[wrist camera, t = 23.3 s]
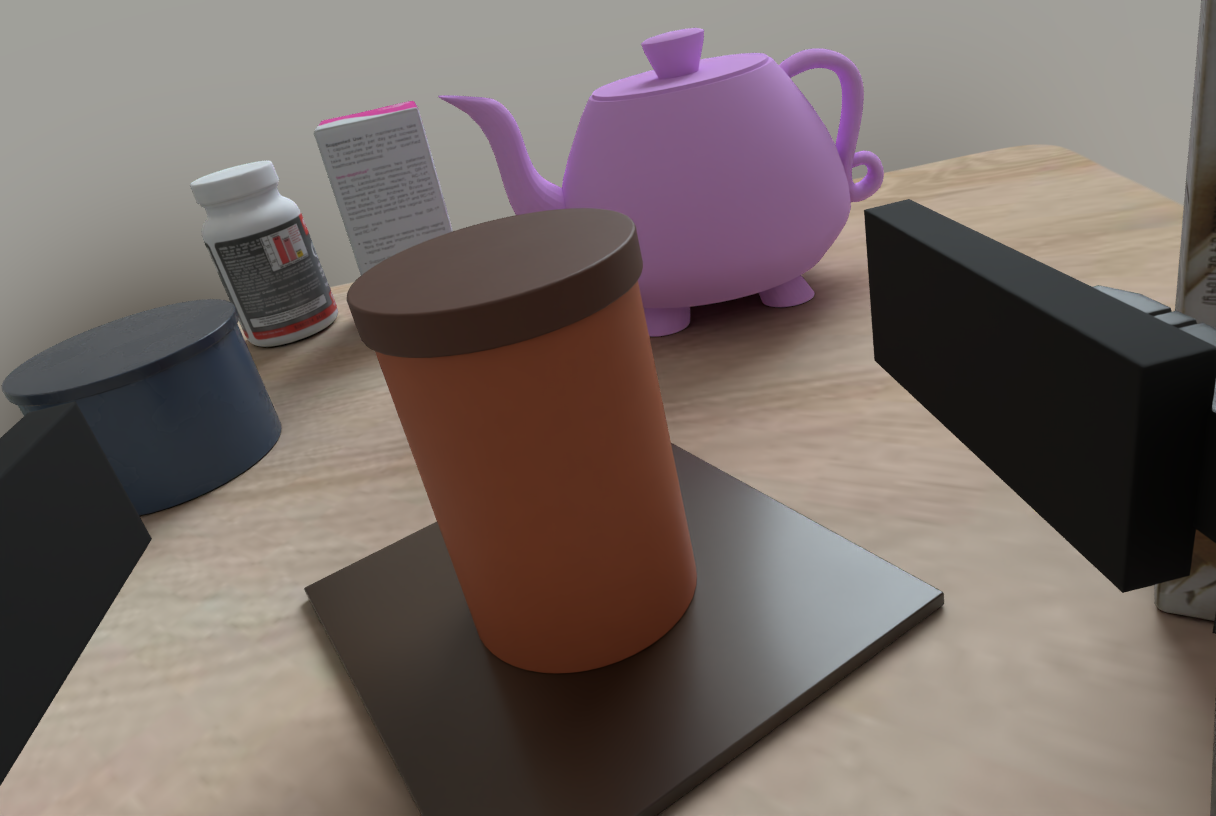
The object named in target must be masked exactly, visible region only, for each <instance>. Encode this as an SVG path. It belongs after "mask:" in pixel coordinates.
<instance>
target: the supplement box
mask: <svg viewBox="0 0 1216 816" xmlns="http://www.w3.org/2000/svg"><path fill="white" fill-rule="evenodd" d="M314 136H315V138H316V141H317V144H318V147H319V150H320V153H321V156H322V160H323V163H324V165H325V169H326V172H327V175H328V178H329V181H330V184H331V187H332V189H333V193H334V196H335V198H336V202H337V205H338V208H339V211H340V214H341V217H342V220H343V222H344V225H345V229H346V232H347V235H348V238H349V241H350V244H351V246H352V250H353V253H354V255H355V259H356V262H357V265H358V268H359V271H360V274H361V275H363V274H364V273H365V272H367V271H368V270H369V269H371V268H372V267H374V266H375V265H377V264H379V263H380V262H382V261H384V260H385V259H387V258H389V257H391V256H393V255H395V254H397V253H399V252H401V251H403V250H406V249H408V248H410V247H412V246H415V245H417V244H420V243H422V242H425V241H427V240H430V239H433V238H435V237H438V236H441V235H444V234H447V233H450V232H453V230H452V226H451V223H450V219H449V216H448V212H447V209H446V205H445V201H444V197H443V194H442V191H441V186H440V183H439V179H438V176H437V172H436V168H435V165H434V162H433V158H432V154H431V151H430V147H429V144H428V140H427V137H426V133H425V129H424V126H423V122H422V119H421V116H420V112H419V109H418V107H417V106H416V104H415V102H414V101H409V102H404V103H399V104H395V105H391V106H386V107H383V108H378V109H374V110H370V111H365V112H361V113H357V114H352V115H348V116H343V117H338V118H333V119H328V120H324V121H321V123H320V124H319V125H318V127H317V128H316V130H315V131H314Z"/></svg>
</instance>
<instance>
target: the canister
mask: <svg viewBox="0 0 1216 816" xmlns="http://www.w3.org/2000/svg"><path fill="white" fill-rule="evenodd" d="M642 270H643V260H642V255H641V250H640V245H639V240H638V235H637V230H636V226H635V224H634V222H633V221H632V219H631V218H629V217H628V216H627V215H624V214H622V213H619V212H616V211H612V210H605V209H593V208H571V209H557V210H547V211H540V212H533V213H527V214H521V215H516V216H511V217H506V218H502V219H497V220H493V221H488V222H484V223H480V224H477V225H473V226H470V227H466V228H463V229H460V230H457V231H453V232H450V233H447V234H444V235H441V236H438V237H435V238H433V239H430V240H427V241H425V242H422V243H420V244H417V245H415V246H412V247H410V248H408V249H406V250H403V251H401V252H399V253H397V254H395V255H393V256H391V257H389V258H387V259H385V260H384V261H382V262H380V263H379V264H377V265H375V266H374V267H372V268H371V269H369V270H368V271H367V272H365V273H364V274H363V275H361V276H360V277H359V278H358V279H357V280H356V281H355V282H354V283H353V284H352V285H351V287H350V289H349V291H348V293H347V302H348V305H349V308H350V311H351V313H352V316H353V319H354V321H355V324H356V327H357V329H358V332H359V335H360V338H361V340H362V341H363V342H364V344H365V345H366V346H367V347H369V348H370V349H372V350H374V351H375V352H376V355H377V358H378V361H379V363H380V366H381V369H382V372H383V374H384V377H385V380H386V383H387V385H388V388H389V391H390V393H391V396H392V399H393V402H394V404H395V407H396V410H397V413H398V415H399V418H400V421H401V424H402V426H403V429H404V432H405V435H406V437H407V440H408V443H409V446H410V448H411V451H412V454H413V457H414V459H415V462H416V465H417V467H418V470H419V473H420V476H421V478H422V481H423V484H424V487H425V489H426V492H427V495H428V498H429V500H430V503H431V506H432V509H433V511H434V514H435V517H436V520H437V522H438V525H439V528H440V531H441V533H442V536H443V539H444V541H445V544H446V547H447V550H448V552H449V555H450V558H451V561H452V563H453V566H454V569H455V572H456V574H457V577H458V580H459V583H460V585H461V588H462V591H463V594H464V596H465V599H466V602H467V605H468V607H469V610H470V613H471V615H472V618H473V621H474V624H475V626H476V629H477V632H478V634H479V637H480V639H481V640H482V642H483V643H484V645H485V646H486V647H487V648H488V649H489V650H490V651H491V653H492V654H494V655H495V656H497V657H498V658H499V659H501V660H502V661H504V662H506V663H508V664H510V665H512V666H515V667H518V668H521V669H524V670H529V671H534V672H540V673H554V674H558V673H574V672H581V671H588V670H592V669H596V668H601V667H604V666H607V665H610V664H613V663H616V662H619V661H621V660H624V659H626V658H628V657H630V656H633V655H635V654H637V653H638V652H640V651H642V650H644V649H645V648H647V647H649V646H650V645H652V644H653V643H654V642H656V641H657V640H659V639H660V638H661V637H663V636H664V635H665V634H666V633H667V632H668V631H669V630H670V629H672V627H673V626H674V625H675V624H676V623H677V622H678V621H679V620H680V618H681V617H682V616H683V614H684V613H685V611H686V610H687V608H688V606H689V604H690V602H691V600H692V598H693V595H694V591H695V588H696V581H697V572H696V565H695V560H694V555H693V550H692V545H691V540H690V535H689V530H688V525H687V520H686V515H685V510H684V505H683V501H682V496H681V491H680V486H679V481H678V476H677V471H676V466H675V461H674V456H673V451H672V446H671V441H670V436H669V432H668V427H667V422H666V417H665V412H664V407H663V402H662V397H661V392H660V387H659V382H658V377H657V372H656V368H655V363H654V358H653V353H652V348H651V343H650V338H649V333H648V328H647V323H646V318H645V313H644V308H643V303H642V299H641V294H640V289H639V284H638V279H639V277H640V276H641V273H642Z"/></svg>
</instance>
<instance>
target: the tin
mask: <svg viewBox="0 0 1216 816" xmlns="http://www.w3.org/2000/svg"><path fill="white" fill-rule="evenodd" d="M238 321H239V315H238V312H237V310H236V308H235V306H234V304H232V303H231V302H228V301H225V300H217V299H216V300H215V299H208V300H196V301H188V302H182V303H177V304H172V305H167V306H163V307H159V308H155V309H151V310H147V311H144V312H140V313H137V314H134V315H130V316H127V317H124V318H121V319H118V320H115V321H112V322H110V323H107V324H104V325H101V326H98V327H96V328H93V329H91V330H88V331H86V332H83V333H81V334H78V335H76V336H74V337H72V338H69V339H67V340H65V341H63V342H61V343H59V344H56V345H55V346H52V347H50V348H48V349H47V350H45V351H43V352H41V353H39V354H37V355H36V356H34V357H32V358H31V359H29V360H27V361H26V362H24V363H23V364H21V365H20V366H19V367H17V368H16V369H15V370H14V371H12V372H11V373H10V374H9V375H8V376H7V377H6V378H5V380H4V381H3V384H2V391H3V393H4V394H5V396H6V398H7V399H8V400H9V401H10V402H11V403H13V404H16V405H18V407H19V408H20V410H21V411H22V413H23V415H24V416H25V415H26V414H27V413H29V412H33V411H37V410H41V409H45V408H49V407H54V406H58V405H62V404H66V403H70V402H74V401H76V403H77V405H78V407H79V408H80V410H81V412H82V414H83V416H84V417H85V419H86V421H87V423H88V425H89V426H90V428H91V430H92V432H93V434H94V435H95V437H96V439H97V441H98V443H99V444H100V446H101V448H102V450H103V452H104V453H105V455H106V457H107V459H108V461H109V462H110V464H111V466H112V468H113V470H114V471H115V473H116V475H117V477H118V479H119V480H120V482H121V484H122V486H123V488H124V489H125V491H126V493H127V495H128V497H129V498H130V500H131V502H132V504H133V506H134V508H135V509H136V511H137V513H138V515H139V516H140V515H144V514H149V513H153V512H156V511H160V510H163V509H166V508H170V507H172V506H175V505H178V504H181V503H184V502H186V501H188V500H191V499H193V498H196V497H198V496H200V495H202V494H205V493H207V492H209V491H211V490H213V489H215V488H217V487H219V486H221V485H223V484H225V483H226V482H228V481H230V480H231V479H233V478H235V477H236V476H238V475H239V474H241V473H243V472H244V471H246V470H247V469H248V468H250V467H251V466H252V465H254V464H255V463H256V462H258V461H259V460H260V459H261V458H262V457H263V456H264V455H266V454H267V452H268V451H269V450H270V449H271V448H272V447H273V446H274V444H275V443H276V442H277V440H278V438H279V436H280V433H281V422H280V420H279V418H278V416H277V413H276V411H275V409H274V406H273V404H272V402H271V400H270V397H269V395H268V393H267V391H266V388H265V386H264V384H263V381H262V379H261V377H260V375H259V372H258V370H257V368H256V365H255V363H254V361H253V359H252V356H251V354H250V352H249V349H248V347H247V345H246V343H245V340H244V338H243V336H242V333H241V331H240V329H239V327H238V324H237V323H238Z"/></svg>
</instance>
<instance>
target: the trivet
mask: <svg viewBox="0 0 1216 816" xmlns="http://www.w3.org/2000/svg"><path fill="white" fill-rule="evenodd" d="M671 446H672V451H673V456H674V461H675V466H676V471H677V476H678V481H679V486H680V491H681V496H682V501H683V505H684V510H685V515H686V520H687V525H688V530H689V535H690V540H691V545H692V550H693V555H694V560H695V565H696V572H697V581H696V588H695V591H694V595H693V598H692V600H691V602H690V604H689V606H688V608H687V610H686V611H685V613H684V614H683V616H682V617H681V618H680V620H679V621H678V622H677V623H676V624H675V625H674V626H673V627H672V629H670V630H669V631H668V632H667V633H666V634H665V635H664V636H663V637H661V638H660V639H659V640H657V641H656V642H654V643H653V644H652V645H650V646H649V647H647V648H645V649H644V650H642V651H640V652H638V653H637V654H635V655H633V656H630V657H628V658H626V659H624V660H621V661H619V662H616V663H613V664H610V665H607V666H604V667H601V668H596V669H592V670H588V671H581V672H574V673H558V674H554V673H540V672H534V671H529V670H524V669H521V668H518V667H515V666H512V665H510V664H508V663H506V662H504V661H502V660H501V659H499V658H498V657H497V656H495V655H494V654H492V653H491V651H490V650H489V649H488V648H487V647H486V646H485V645H484V643H483V642H482V640H481V639H480V637H479V634H478V632H477V629H476V626H475V624H474V621H473V618H472V615H471V613H470V610H469V607H468V605H467V602H466V599H465V596H464V594H463V591H462V588H461V585H460V583H459V580H458V577H457V574H456V572H455V569H454V566H453V563H452V561H451V558H450V555H449V552H448V550H447V547H446V544H445V541H444V539H443V536H442V533H441V531H440V528H439V525H438V522H435V523H433V524H431V525H429V526H427V527H425V528H423V529H421V530H419V531H417V532H415V533H413V534H411V535H409V536H407V537H405V538H403V539H401V540H399V541H397V542H395V543H393V544H391V545H389V546H387V547H385V548H383V549H381V550H379V551H377V552H375V553H373V554H371V555H369V556H367V557H365V558H363V559H361V560H359V561H357V562H355V563H353V564H351V565H349V566H347V567H345V568H343V569H341V570H339V571H337V572H335V573H333V574H331V575H329V576H327V577H325V578H323V579H321V580H319V581H317V582H315V583H313V584H311V585H309V586H307V587H305V588H304V590H305V592H306V594H307V596H308V598H309V600H310V602H311V604H312V606H313V608H314V610H315V612H316V614H317V615H318V617H319V619H320V621H321V623H322V625H323V627H324V629H325V631H326V633H327V635H328V637H329V638H330V640H331V642H332V644H333V646H334V648H335V650H336V652H337V654H338V656H339V658H340V660H341V661H342V663H343V665H344V667H345V669H346V671H347V673H348V675H349V677H350V679H351V681H352V683H353V684H354V686H355V688H356V690H357V692H358V694H359V696H360V698H361V700H362V702H363V704H364V706H365V707H366V709H367V711H368V713H369V715H370V717H371V719H372V721H373V723H374V725H375V727H376V729H377V730H378V732H379V734H380V736H381V738H382V740H383V742H384V744H385V746H386V748H387V750H388V752H389V753H390V755H391V757H392V759H393V761H394V763H395V765H396V767H397V769H398V771H399V773H400V775H401V776H402V778H403V780H404V782H405V784H406V786H407V788H408V790H409V792H410V794H411V796H412V798H413V799H414V801H415V803H416V805H417V807H418V809H419V811H420V813H421V815H422V816H656V815H657V814H659V813H660V812H662V811H663V810H664V809H666V808H667V807H668V806H670V805H671V804H672V803H674V802H675V801H676V800H678V799H679V798H681V797H682V796H683V795H685V794H686V793H687V792H689V791H690V790H691V789H693V788H694V787H696V786H697V785H698V784H700V783H701V782H702V781H704V780H705V779H706V778H708V777H709V776H711V775H712V774H713V773H715V772H716V771H717V770H719V769H720V768H721V767H723V766H724V765H726V764H727V763H728V762H730V761H731V760H732V759H734V758H735V757H736V756H738V755H739V754H740V753H742V752H743V751H745V750H746V749H747V748H749V747H750V746H751V745H753V744H754V743H755V742H757V741H758V740H760V739H761V738H762V737H764V736H765V735H766V734H768V733H769V732H770V731H772V730H773V729H775V728H776V727H777V726H779V725H780V724H781V723H783V722H784V721H785V720H787V719H788V718H789V717H791V716H792V715H794V714H795V713H796V712H798V711H799V710H800V709H802V708H803V707H804V706H806V705H807V704H809V703H810V702H811V701H813V700H814V699H815V698H817V697H818V696H819V695H821V694H822V693H824V692H825V691H826V690H828V689H829V688H830V687H832V686H833V685H834V684H836V683H837V682H838V681H840V680H841V679H843V678H844V677H845V676H847V675H848V674H849V673H851V672H852V671H853V670H855V669H856V668H858V667H859V666H860V665H862V664H863V663H864V662H866V661H867V660H868V659H870V658H871V657H873V656H874V655H875V654H877V653H878V652H879V651H881V650H882V649H883V648H885V647H886V646H887V645H889V644H890V643H892V642H893V641H894V640H896V639H897V638H898V637H900V636H901V635H902V634H904V633H905V632H907V631H908V630H909V629H911V628H912V627H913V626H915V625H916V624H917V623H919V622H920V621H922V620H923V619H924V618H926V617H927V616H928V615H930V614H931V613H932V612H934V611H935V610H936V609H938V608H939V607H941V606H942V605H943V604H944V593H943V592H942V591H940V590H938V589H936V588H935V587H933V586H931V585H929V584H927V583H926V582H924V581H922V580H920V579H918V578H916V577H915V576H913V575H911V574H909V573H907V572H906V571H904V570H902V569H900V568H898V567H896V566H895V565H893V564H891V563H889V562H887V561H885V560H884V559H882V558H880V557H878V556H876V555H875V554H873V553H871V552H869V551H867V550H865V549H864V548H862V547H860V546H858V545H856V544H855V543H853V542H851V541H849V540H847V539H845V538H844V537H842V536H840V535H838V534H836V533H834V532H833V531H831V530H829V529H827V528H825V527H824V526H822V525H820V524H818V523H816V522H814V521H813V520H811V519H809V518H807V517H805V516H804V515H802V514H800V513H798V512H796V511H794V510H793V509H791V508H789V507H787V506H785V505H783V504H782V503H780V502H778V501H776V500H774V499H773V498H771V497H769V496H767V495H765V494H763V493H762V492H760V491H758V490H756V489H754V488H753V487H751V486H749V485H747V484H745V483H743V482H742V481H740V480H738V479H736V478H734V477H732V476H731V475H729V474H727V473H725V472H723V471H722V470H720V469H718V468H716V467H714V466H712V465H711V464H709V463H707V462H705V461H703V460H702V459H700V458H698V457H696V456H694V455H692V454H691V453H689V452H687V451H685V450H683V449H681V448H680V447H678V446H676V445H674V444H672V443H671Z"/></svg>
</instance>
